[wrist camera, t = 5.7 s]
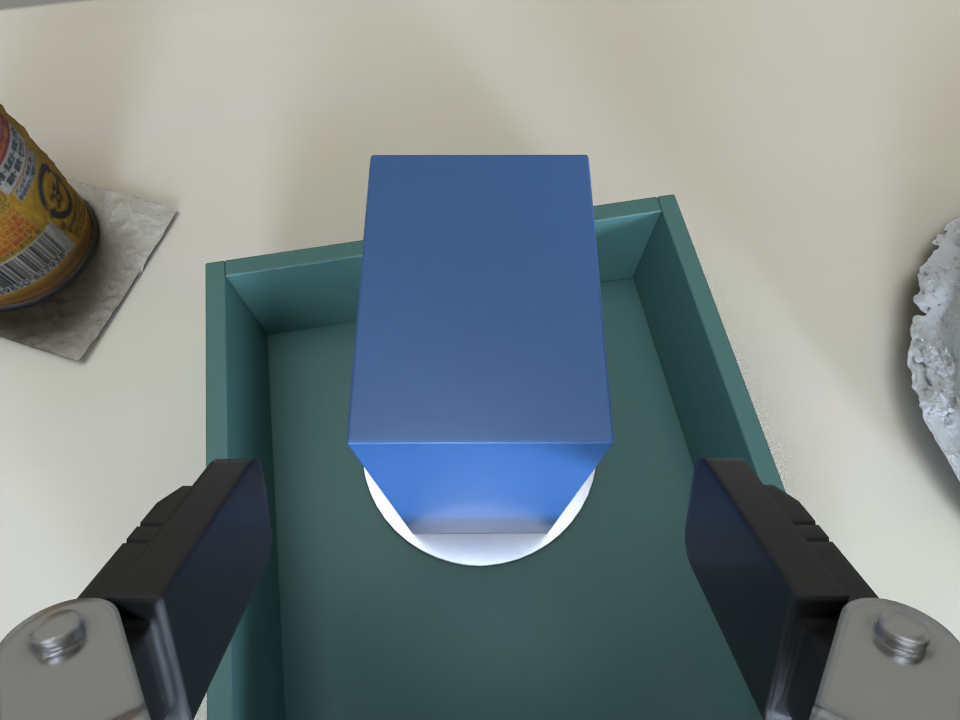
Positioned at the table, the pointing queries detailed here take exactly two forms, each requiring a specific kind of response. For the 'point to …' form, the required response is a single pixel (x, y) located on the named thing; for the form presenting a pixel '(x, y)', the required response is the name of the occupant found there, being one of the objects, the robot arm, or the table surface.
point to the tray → (478, 590)
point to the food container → (939, 343)
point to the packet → (479, 340)
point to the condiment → (64, 248)
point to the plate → (479, 534)
